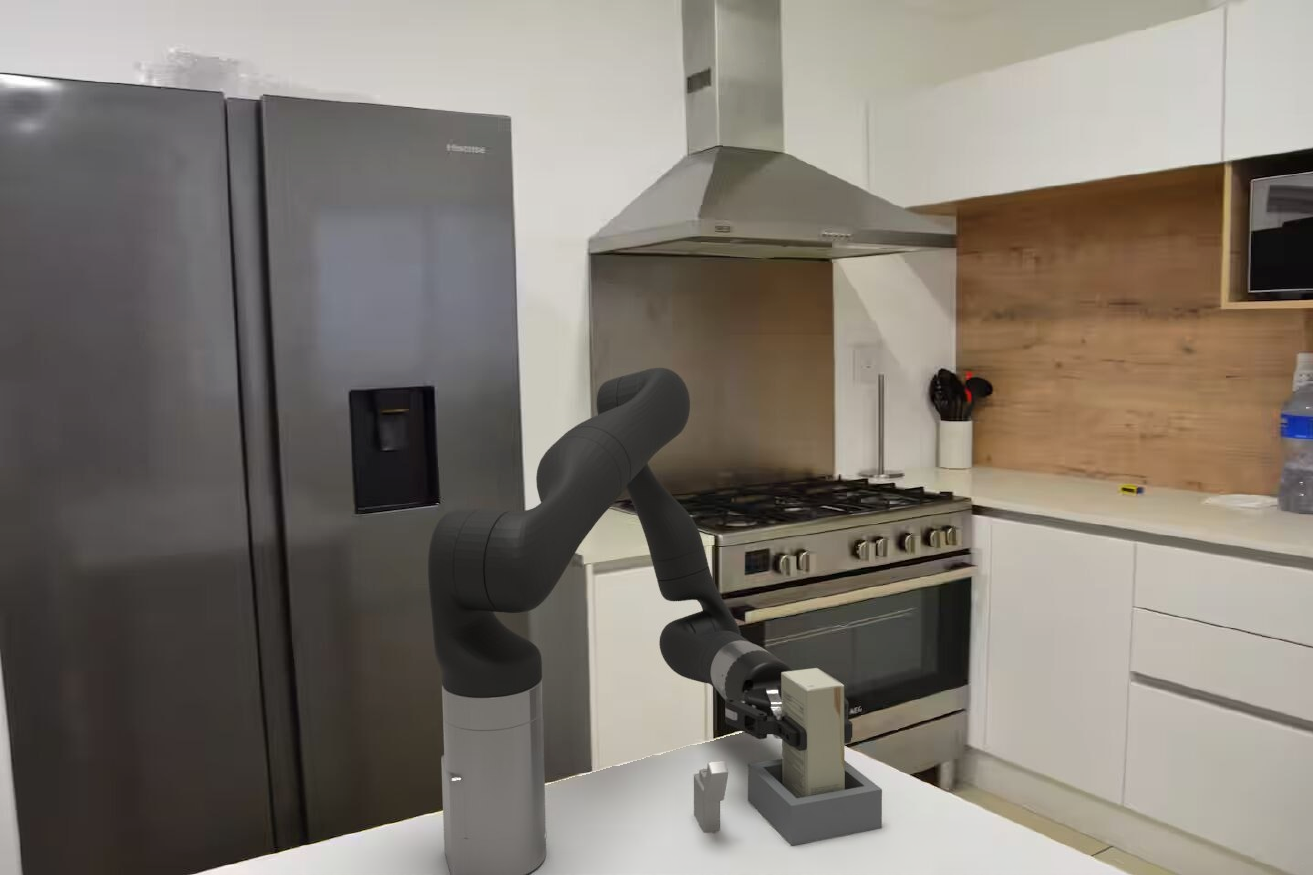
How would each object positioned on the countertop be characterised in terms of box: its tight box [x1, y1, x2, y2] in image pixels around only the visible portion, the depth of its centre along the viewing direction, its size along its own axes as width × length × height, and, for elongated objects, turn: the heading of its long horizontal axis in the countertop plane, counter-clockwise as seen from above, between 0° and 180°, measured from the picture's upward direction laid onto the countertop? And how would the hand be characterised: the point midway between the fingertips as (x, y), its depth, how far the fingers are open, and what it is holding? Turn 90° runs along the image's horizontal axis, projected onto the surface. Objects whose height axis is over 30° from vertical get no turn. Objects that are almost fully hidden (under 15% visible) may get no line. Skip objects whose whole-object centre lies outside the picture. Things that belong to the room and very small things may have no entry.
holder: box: [747, 758, 883, 847], centre depth 101 cm, size 10×10×4 cm
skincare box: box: [781, 667, 846, 798], centre depth 100 cm, size 6×4×12 cm
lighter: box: [693, 760, 729, 834], centre depth 98 cm, size 7×2×8 cm, turn 12°
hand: (825, 737), depth 98 cm, fingers closed on skincare box, 4 cm apart
